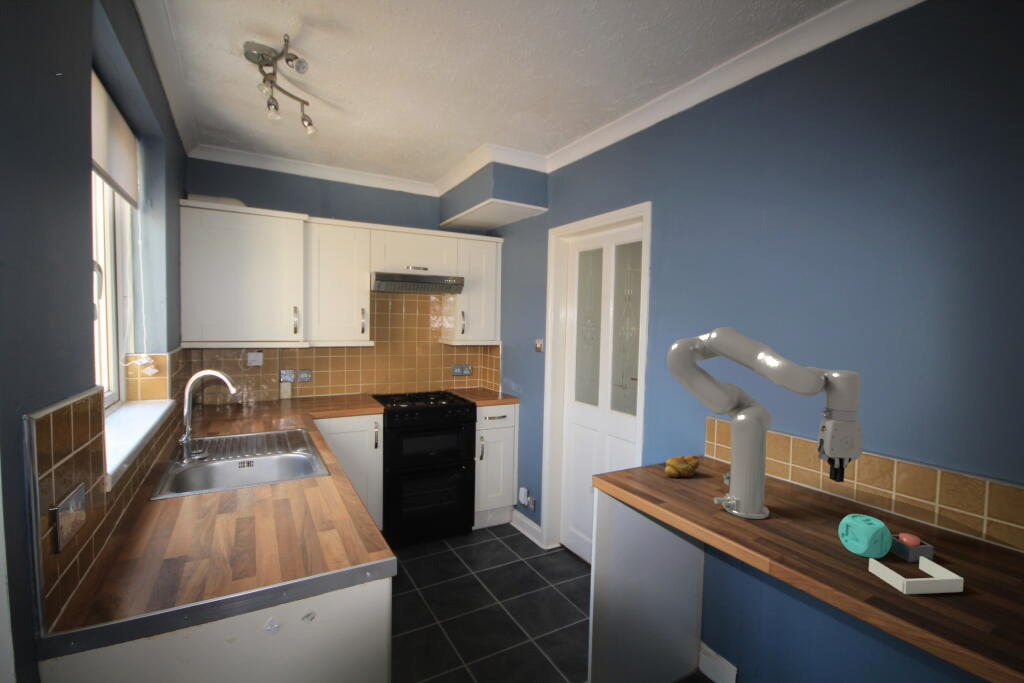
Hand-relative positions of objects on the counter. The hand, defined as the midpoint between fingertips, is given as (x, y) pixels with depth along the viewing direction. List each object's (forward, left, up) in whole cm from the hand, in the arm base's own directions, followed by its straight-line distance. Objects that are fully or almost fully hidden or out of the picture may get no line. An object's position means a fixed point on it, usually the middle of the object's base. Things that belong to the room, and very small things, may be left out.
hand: (836, 480), depth 129 cm
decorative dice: (0, -10, -15) cm, 18 cm away
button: (+10, -13, -14) cm, 21 cm away
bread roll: (-23, +47, -15) cm, 55 cm away
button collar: (+10, -13, -15) cm, 22 cm away
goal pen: (0, -24, -15) cm, 28 cm away
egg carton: (-5, +38, -15) cm, 41 cm away
